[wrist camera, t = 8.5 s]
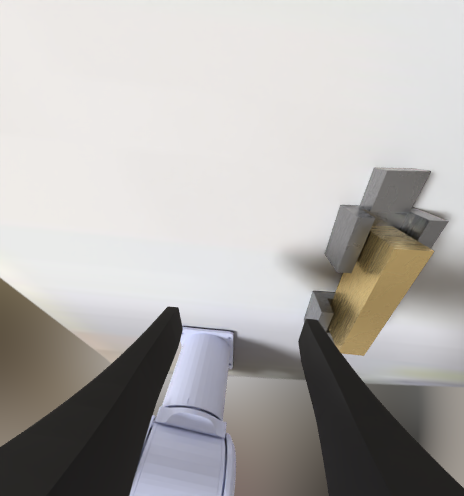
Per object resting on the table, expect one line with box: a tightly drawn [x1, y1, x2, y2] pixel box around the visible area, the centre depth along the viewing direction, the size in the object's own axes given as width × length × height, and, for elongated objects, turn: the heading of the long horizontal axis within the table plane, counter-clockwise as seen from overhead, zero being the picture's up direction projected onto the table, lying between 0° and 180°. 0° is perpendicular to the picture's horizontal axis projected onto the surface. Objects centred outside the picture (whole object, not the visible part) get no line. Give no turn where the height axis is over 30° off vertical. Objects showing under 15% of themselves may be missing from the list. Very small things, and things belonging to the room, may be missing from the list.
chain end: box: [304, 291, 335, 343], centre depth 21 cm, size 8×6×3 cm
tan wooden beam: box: [328, 226, 434, 356], centre depth 16 cm, size 12×2×4 cm, turn 0°
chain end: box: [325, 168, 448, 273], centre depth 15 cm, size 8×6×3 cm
